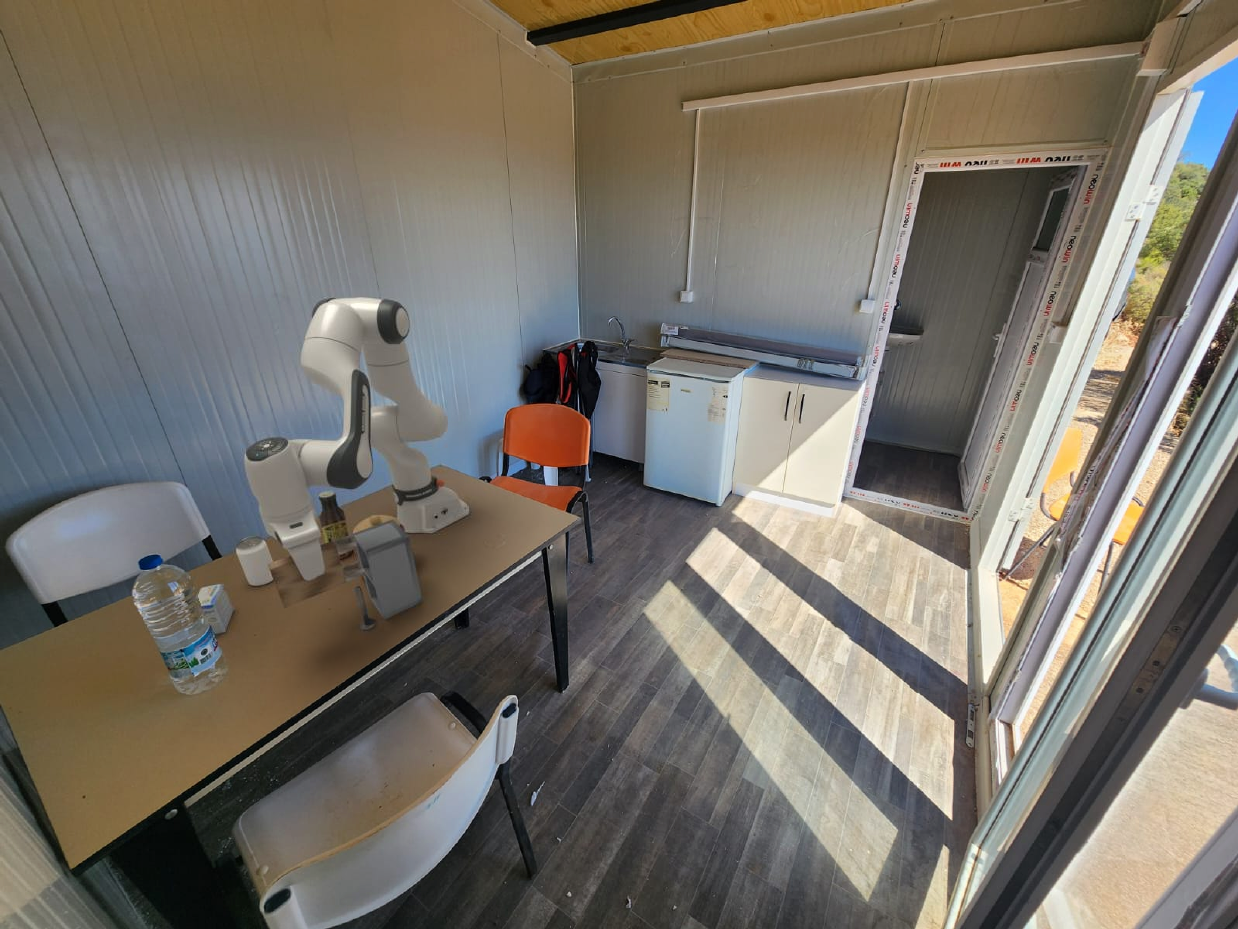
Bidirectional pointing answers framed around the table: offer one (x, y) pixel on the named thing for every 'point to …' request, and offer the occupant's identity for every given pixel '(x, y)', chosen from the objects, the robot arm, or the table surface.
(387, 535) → the cabinet
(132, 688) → the table surface
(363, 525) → the canister
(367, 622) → the hinge post
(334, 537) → the sauce bottle
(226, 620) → the medicine box
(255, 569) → the can
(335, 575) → the door
